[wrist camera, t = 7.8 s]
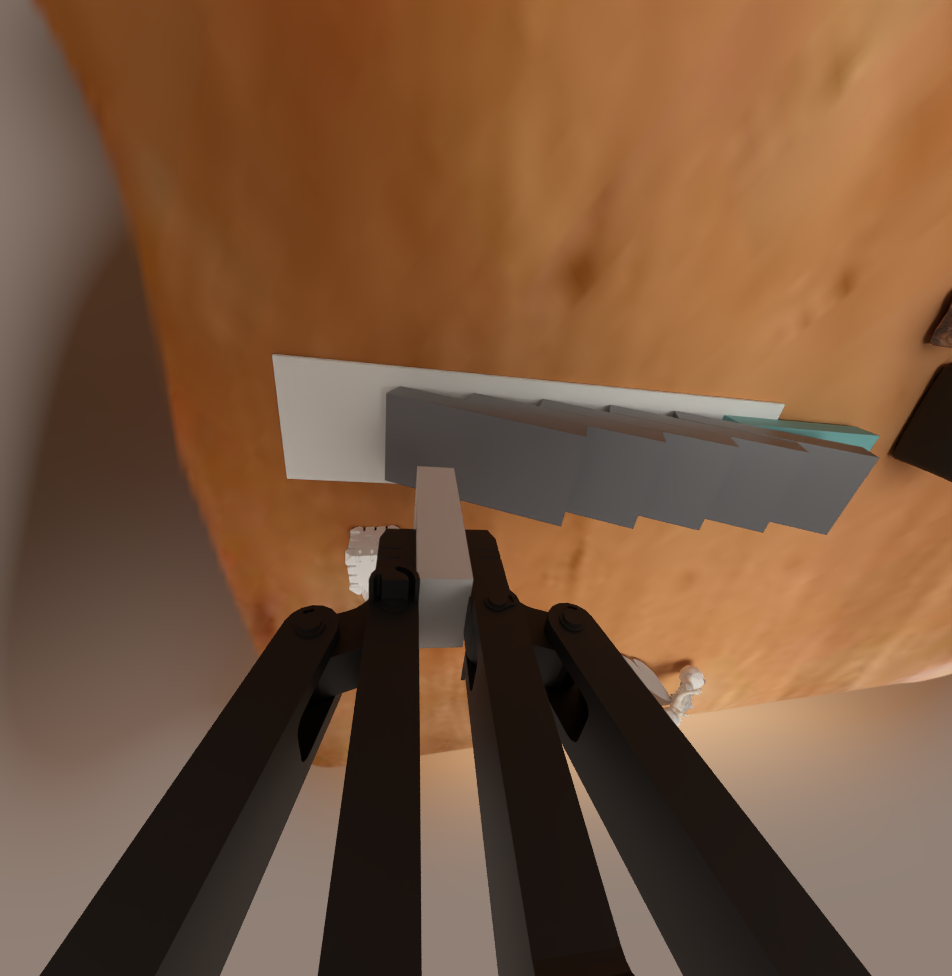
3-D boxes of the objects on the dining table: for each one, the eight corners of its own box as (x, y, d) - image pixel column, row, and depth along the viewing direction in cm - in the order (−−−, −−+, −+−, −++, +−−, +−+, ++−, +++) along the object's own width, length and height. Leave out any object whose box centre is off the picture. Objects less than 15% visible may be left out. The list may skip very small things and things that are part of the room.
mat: (273, 353, 20) (271, 355, 20) (781, 402, 25) (785, 404, 25) (288, 476, 23) (287, 478, 23) (732, 497, 28) (735, 499, 28)
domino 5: (742, 424, 23) (879, 435, 25) (724, 414, 25) (855, 426, 26) (707, 496, 26) (834, 503, 27) (692, 484, 27) (815, 491, 29)
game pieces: (349, 524, 26) (342, 556, 23) (401, 522, 26) (399, 553, 24) (367, 647, 32) (363, 684, 29) (409, 643, 32) (408, 679, 30)
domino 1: (386, 393, 20) (586, 436, 18) (400, 386, 21) (587, 425, 19) (384, 480, 22) (560, 526, 20) (397, 469, 24) (563, 511, 22)
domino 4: (610, 412, 22) (809, 452, 20) (609, 404, 23) (796, 442, 21) (586, 490, 24) (763, 532, 23) (587, 479, 26) (753, 518, 24)
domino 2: (465, 400, 21) (666, 442, 19) (474, 392, 22) (662, 431, 20) (456, 484, 23) (632, 528, 21) (464, 472, 24) (630, 514, 23)
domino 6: (679, 418, 23) (879, 457, 21) (674, 410, 24) (862, 447, 22) (649, 493, 25) (826, 534, 23) (647, 482, 26) (814, 520, 25)
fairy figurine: (698, 695, 39) (673, 752, 34) (629, 653, 43) (599, 699, 38) (719, 655, 35) (694, 712, 31) (643, 613, 39) (611, 659, 35)
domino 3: (539, 406, 21) (739, 447, 19) (543, 398, 23) (730, 436, 21) (522, 487, 24) (698, 530, 22) (526, 475, 25) (693, 515, 23)
